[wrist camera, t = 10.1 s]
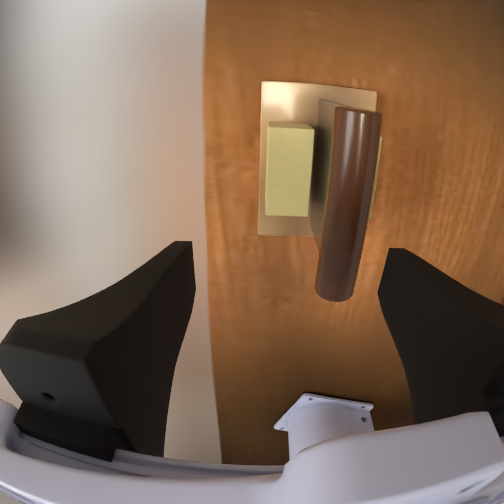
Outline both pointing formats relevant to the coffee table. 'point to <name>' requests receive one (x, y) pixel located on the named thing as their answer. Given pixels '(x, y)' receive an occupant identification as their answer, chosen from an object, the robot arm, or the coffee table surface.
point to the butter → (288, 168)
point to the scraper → (342, 193)
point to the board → (298, 111)
